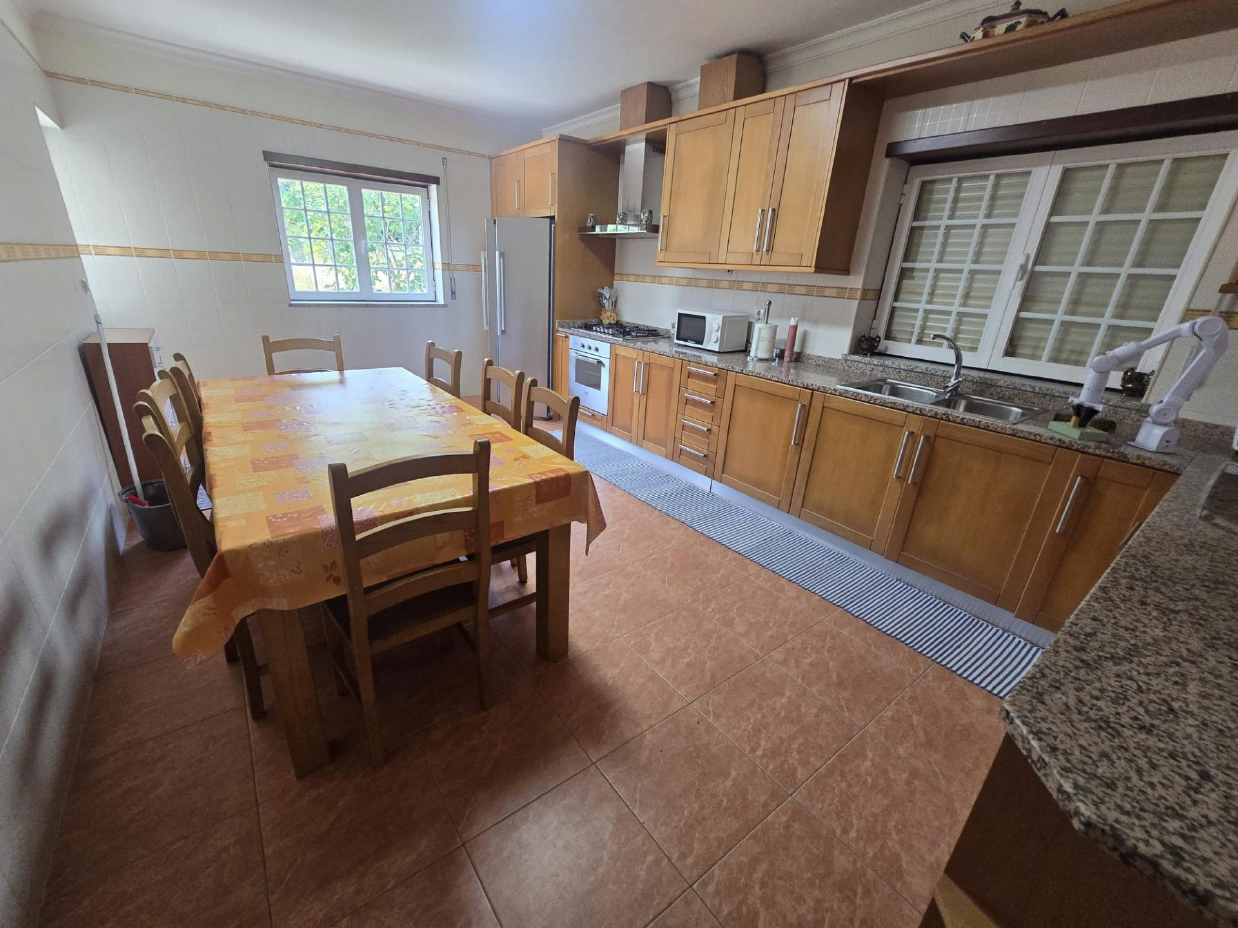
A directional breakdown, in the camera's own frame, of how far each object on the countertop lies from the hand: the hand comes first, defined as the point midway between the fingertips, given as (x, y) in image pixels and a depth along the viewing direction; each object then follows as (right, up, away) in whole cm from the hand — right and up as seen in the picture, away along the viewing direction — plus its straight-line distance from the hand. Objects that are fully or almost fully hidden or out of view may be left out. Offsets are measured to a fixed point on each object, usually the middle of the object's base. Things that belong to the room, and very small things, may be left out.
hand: (1079, 425), depth 184 cm
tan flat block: (0, 0, 0) cm, 0 cm away
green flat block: (0, -3, +1) cm, 3 cm away
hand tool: (+15, +1, +15) cm, 21 cm away
